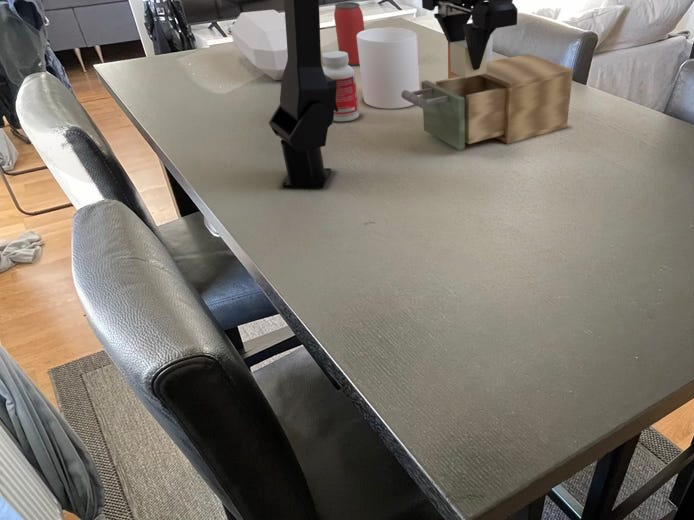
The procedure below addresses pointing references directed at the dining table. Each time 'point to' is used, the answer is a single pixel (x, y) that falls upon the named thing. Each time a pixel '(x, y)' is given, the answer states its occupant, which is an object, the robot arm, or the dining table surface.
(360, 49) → the cup
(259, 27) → the crystal
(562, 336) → the dining table surface
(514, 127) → the cabinet
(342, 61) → the pill bottle
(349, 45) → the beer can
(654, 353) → the dining table surface
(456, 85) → the drawer
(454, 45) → the block
